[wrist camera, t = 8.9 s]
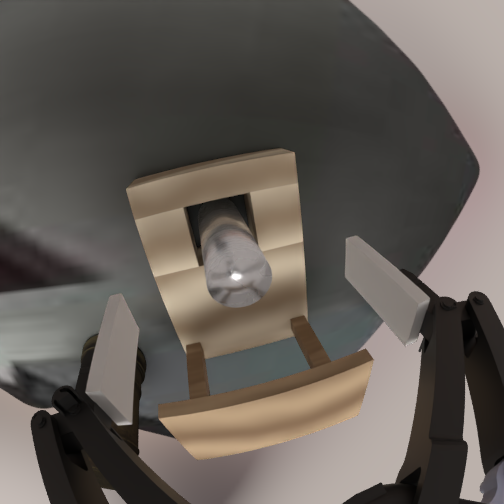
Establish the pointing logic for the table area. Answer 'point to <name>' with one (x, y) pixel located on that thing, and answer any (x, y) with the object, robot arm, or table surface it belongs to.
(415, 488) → the robot arm
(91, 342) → the container
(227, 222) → the peg
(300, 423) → the socket station
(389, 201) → the table surface
